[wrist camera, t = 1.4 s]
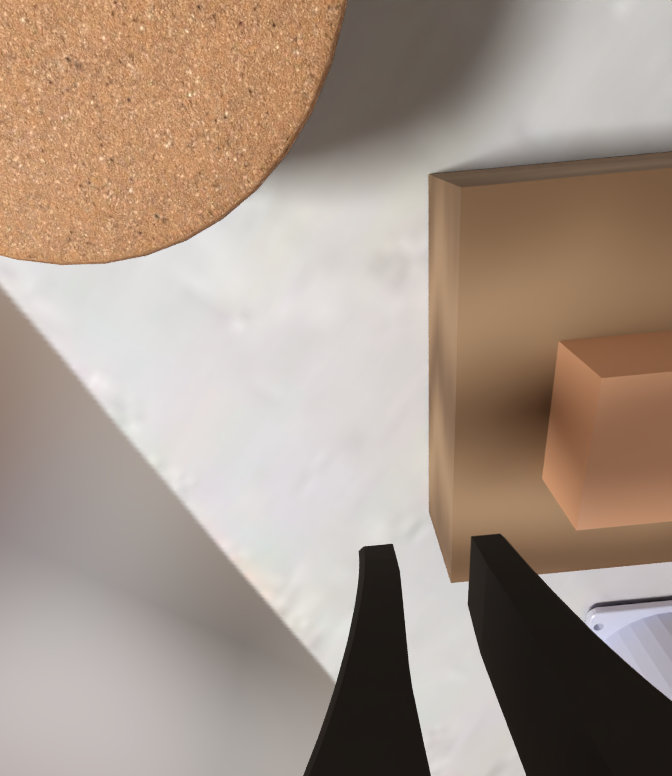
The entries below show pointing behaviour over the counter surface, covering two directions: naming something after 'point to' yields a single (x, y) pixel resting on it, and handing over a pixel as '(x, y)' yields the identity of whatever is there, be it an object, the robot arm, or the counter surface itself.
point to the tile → (612, 430)
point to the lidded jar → (147, 116)
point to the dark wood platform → (534, 341)
